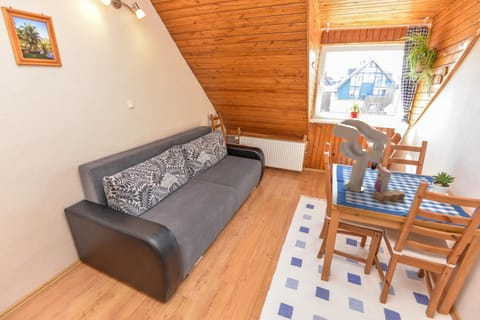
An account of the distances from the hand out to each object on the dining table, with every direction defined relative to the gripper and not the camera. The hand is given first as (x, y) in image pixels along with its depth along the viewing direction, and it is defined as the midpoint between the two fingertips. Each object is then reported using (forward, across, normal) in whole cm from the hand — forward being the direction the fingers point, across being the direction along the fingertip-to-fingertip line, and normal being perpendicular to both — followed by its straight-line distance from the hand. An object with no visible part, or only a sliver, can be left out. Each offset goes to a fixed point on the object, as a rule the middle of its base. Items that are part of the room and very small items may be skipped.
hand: (373, 169), depth 178 cm
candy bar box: (+12, +12, -1) cm, 17 cm away
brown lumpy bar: (+12, +26, -6) cm, 29 cm away
